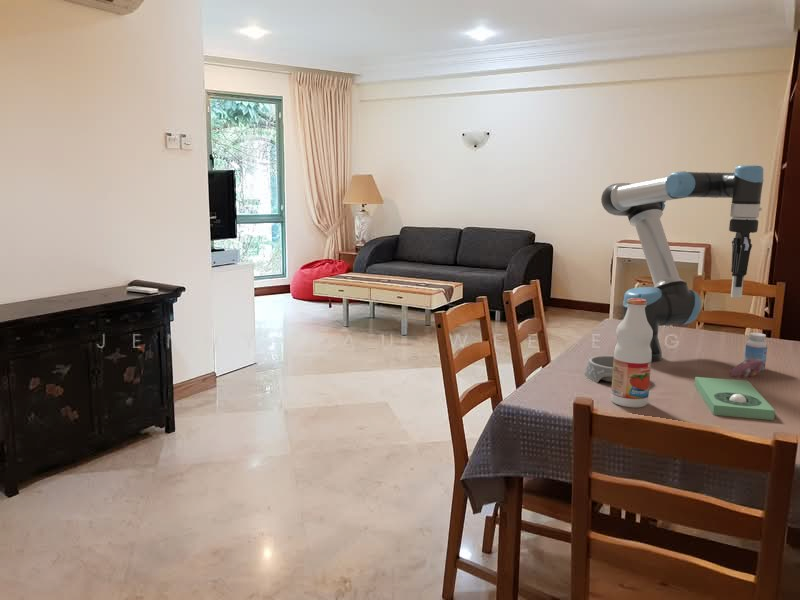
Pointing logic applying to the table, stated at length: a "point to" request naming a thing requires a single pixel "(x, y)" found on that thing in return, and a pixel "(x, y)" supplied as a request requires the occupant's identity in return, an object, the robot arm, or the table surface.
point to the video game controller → (747, 368)
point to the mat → (719, 403)
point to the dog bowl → (600, 368)
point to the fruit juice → (632, 357)
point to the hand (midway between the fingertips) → (736, 297)
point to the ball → (738, 398)
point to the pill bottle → (756, 347)
